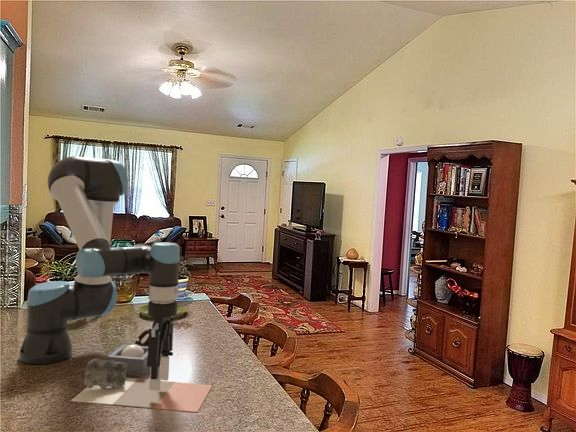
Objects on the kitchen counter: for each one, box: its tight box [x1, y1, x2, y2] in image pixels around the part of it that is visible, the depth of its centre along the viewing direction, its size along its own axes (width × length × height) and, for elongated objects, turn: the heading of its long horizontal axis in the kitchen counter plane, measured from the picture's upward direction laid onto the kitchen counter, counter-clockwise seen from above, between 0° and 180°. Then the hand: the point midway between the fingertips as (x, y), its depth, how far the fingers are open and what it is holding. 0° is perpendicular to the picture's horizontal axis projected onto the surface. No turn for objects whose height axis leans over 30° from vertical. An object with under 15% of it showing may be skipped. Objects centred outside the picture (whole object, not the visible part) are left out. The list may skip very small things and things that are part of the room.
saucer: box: [138, 303, 188, 320], centre depth 198 cm, size 21×21×3 cm
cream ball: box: [121, 343, 144, 357], centre depth 138 cm, size 7×7×7 cm
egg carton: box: [83, 357, 127, 389], centre depth 124 cm, size 11×8×4 cm
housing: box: [106, 344, 150, 377], centre depth 138 cm, size 11×11×5 cm
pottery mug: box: [134, 328, 150, 346], centre depth 154 cm, size 12×9×8 cm
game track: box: [70, 377, 213, 414], centre depth 122 cm, size 33×16×1 cm, turn 86°
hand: (159, 384), depth 122 cm, fingers open, 6 cm apart
